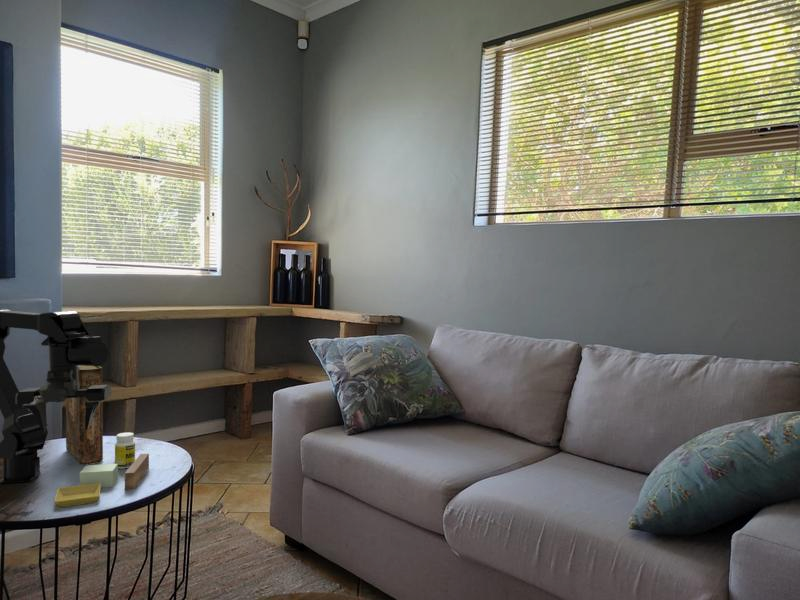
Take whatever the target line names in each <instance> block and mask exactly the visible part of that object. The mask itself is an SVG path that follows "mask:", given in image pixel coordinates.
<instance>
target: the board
mask: <svg viewBox="0 0 800 600" xmlns="http://www.w3.org/2000/svg"><path fill="white" fill-rule="evenodd" d="M149 466H150V453H140V454H139V455H138V456H137V457H136V458H135V461H134V463H133V464H132V465H131V466H130V467H129V468H127V470H126V471H125V472H124V490H125V491H129V489H134V490H135V489H136V488H135V487H138V485H139V483H140V482H141V481H140V480H142V479H143V477H145V475H146V474H145V473H147V472H148V471H149V469H150V467H149ZM147 470H148V471H147ZM137 484H138V485H137Z"/></svg>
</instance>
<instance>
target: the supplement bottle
mask: <svg viewBox="0 0 800 600" xmlns="http://www.w3.org/2000/svg"><path fill="white" fill-rule="evenodd" d="M134 435H135V434H134V432H119V433H118V434H116V442H115V443H114V464H118V470H125V468H127V469H129V467H130V466H131V465H132V464H133V463H134V461H135V460H136V441H135V439H134V438H135V437H134Z"/></svg>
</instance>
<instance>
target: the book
mask: <svg viewBox="0 0 800 600" xmlns="http://www.w3.org/2000/svg"><path fill="white" fill-rule="evenodd" d="M78 367H79V371H78V384H80V388H79V389H78V390H82V389H87V388H89V387H91V386H93V385H104V383H103V379H104V378H103V367H102V366H80V365H78ZM87 401H88V400H87V399H86V397H79V398H66V399H65V448H66V451H67V453H68V454H69V455H70V456H71V457H72V458H73V459H74V460H75V461H76V462H77V463H78V464H79V465H80V466H86V464H88V465H94V464H98V463H101V462H103V461H102V460H104V452H103V451H104V449H103V448H104V443H103V442H104V438H103V437H104V435H103V433H104V430H103V429H104V426H103V423H104V422H103V421H104V420H103V419H104V416H103V412H104V411H103V410H104V409H103V407H104V405H103V404H104V401H102V402H101V403H99V405H98V407H97V409H96V411H95V413H94V416H93V418H92V421H91V424H90V426H89V429H88V430H86V429H85V415H86V407H85V402H87ZM100 461H101V462H100ZM97 462H98V463H97ZM93 463H94V464H93Z"/></svg>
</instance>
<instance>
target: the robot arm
mask: <svg viewBox="0 0 800 600" xmlns="http://www.w3.org/2000/svg"><path fill="white" fill-rule="evenodd" d="M10 328H14V329H22V330H23V329H25V330H31V331H32V330H33V331H37V332H38V333H39V334H41V335H44V336H47V337H46V338H45V339H44V340H43V341H41V343H40V345H41V346H43V347H45V346H46V347H48V359H49V360H48V361H49V362H48V363H49V364H48V365H49V370H48V371H47V374H46V380H45V381H44V382H43V383H42V385H41V386H40V387H27V388H23V389H21V390H19V389H18V385H17V384H16V382H15V380H14V378H13V375H12V374H11V372H10V369H9V367H8V365H7V363H6V361H5V359H4V355H5V352H6V351H5V350H6V347H7V346H6V343H5V341H6V339H7V338H8V336H9V335H10V331H11V330H10ZM109 353H110V352H109V349H108V347H107V344H106V343H104V342H103V341H102V338H101V336H96V335H95V336H92V334H91V333H90V330H89V329H88V328H87V326H86V325H85V323H84V322H83V320H82V318H81V317H80V315H79V313H78V312H77V311H75V310H66V311H65V310H64V311H49V312H42V313H41V312H31V311H30V312H29V311H21V310H19V311H18V310H17V311H16V310H11V309H9V308H6V309H0V412H1V414H2V416H3V425H2V430H1V433H2V437H3V439H2V440H1V442H0V459H2V464H3V465H2V468H3V469H2V470H3V477H2V479H0V484H10V483H11V484H13V483H29V482H31V481H32V480H33V479H35V478H36V477H38V476H39V475H40V474H42V473H41V468H40V467H41V466H40V465H41V464H40V462H41V461H40V460H41V459H40V456H38V451H40V450H43V449H44V447H45V443H46V440H47V436H48V435H49V431H48V424H47V403H53V402H54V403H62V402H66V398H79V397H86V399H87V400H88V401H87V402H85V407H86V415H85V429H86V430H88V429H89V426H90V424H91V421H92V418H93V416H94V413H95V411H96V409H97V407H98V405H99V403H101V402H102V401H103V402H104V401H105V400H107V399H108V398H110V397H111V396H112V390H111V387H110V385H109V384H103V385H93V386H91V387H89V388H87V389H82V390H78V389H79V388H80V384H78V371H79V367H78V365H80V366H100V367H102V366H103V365H104V364H105V363H106V362H107V361H108V357H109Z"/></svg>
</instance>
